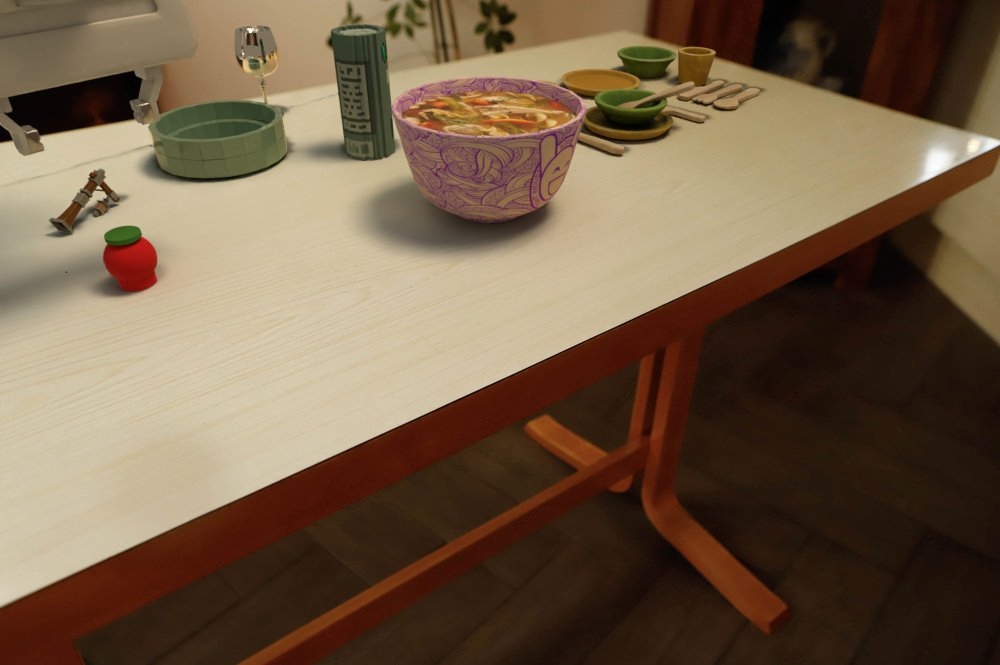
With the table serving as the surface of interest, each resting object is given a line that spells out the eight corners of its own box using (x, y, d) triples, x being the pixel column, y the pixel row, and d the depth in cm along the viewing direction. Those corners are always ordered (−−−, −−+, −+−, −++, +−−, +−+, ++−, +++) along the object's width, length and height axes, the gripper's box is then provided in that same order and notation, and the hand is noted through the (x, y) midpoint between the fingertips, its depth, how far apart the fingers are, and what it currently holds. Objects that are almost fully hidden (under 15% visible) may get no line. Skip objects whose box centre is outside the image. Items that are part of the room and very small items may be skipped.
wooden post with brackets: (129, 194, 81) (105, 164, 77) (87, 249, 77) (60, 221, 73) (116, 191, 81) (91, 162, 77) (74, 246, 77) (46, 218, 74)
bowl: (137, 159, 92) (125, 120, 89) (245, 128, 101) (238, 92, 99) (200, 193, 83) (190, 151, 80) (312, 156, 93) (306, 117, 90)
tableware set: (615, 161, 92) (620, 112, 88) (466, 111, 108) (465, 68, 104) (772, 93, 116) (781, 52, 112) (631, 61, 132) (635, 24, 128)
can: (402, 146, 96) (393, 26, 87) (379, 162, 91) (367, 37, 83) (362, 140, 98) (349, 22, 89) (338, 155, 93) (321, 33, 84)
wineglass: (294, 117, 105) (280, 30, 98) (255, 125, 102) (238, 36, 96) (280, 107, 109) (265, 23, 102) (242, 114, 106) (225, 28, 100)
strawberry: (104, 283, 67) (86, 233, 64) (150, 266, 69) (134, 217, 66) (126, 300, 64) (108, 249, 61) (172, 281, 67) (158, 232, 64)
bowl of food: (600, 242, 74) (611, 131, 67) (404, 256, 71) (395, 143, 65) (556, 167, 90) (561, 72, 83) (395, 177, 87) (387, 80, 81)
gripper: (149, -71, 59) (191, 99, 67) (-156, -43, 47) (-60, 161, 55) (188, -65, 56) (227, 113, 64) (-130, -33, 43) (-31, 183, 51)
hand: (93, 136), depth 59 cm, fingers open, 8 cm apart
